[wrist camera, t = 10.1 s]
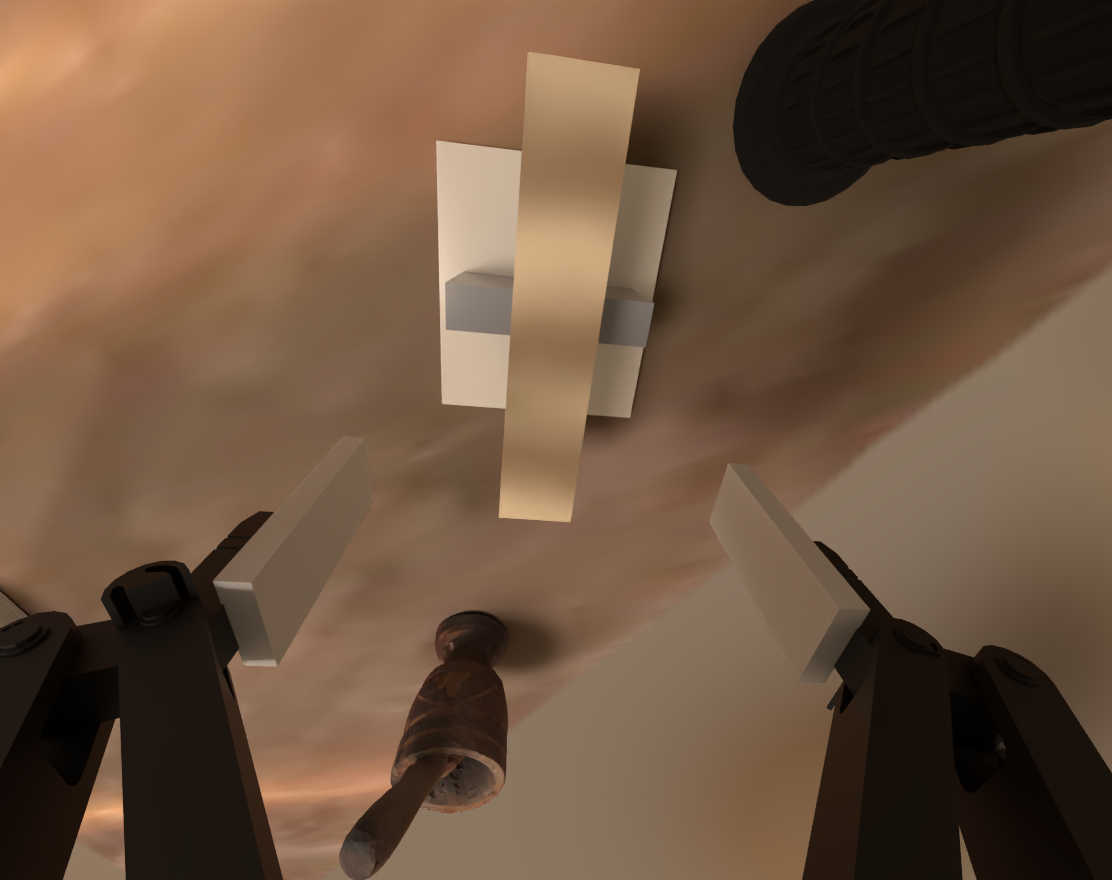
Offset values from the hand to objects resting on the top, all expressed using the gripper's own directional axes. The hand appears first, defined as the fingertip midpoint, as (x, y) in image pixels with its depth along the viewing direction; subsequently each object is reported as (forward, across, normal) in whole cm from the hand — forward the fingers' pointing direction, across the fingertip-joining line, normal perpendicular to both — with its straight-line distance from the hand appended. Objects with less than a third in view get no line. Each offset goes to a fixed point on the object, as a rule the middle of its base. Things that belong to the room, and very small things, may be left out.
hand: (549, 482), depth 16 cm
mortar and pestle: (+17, -6, -29) cm, 34 cm away
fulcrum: (+17, 0, +4) cm, 18 cm away
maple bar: (+10, 0, +4) cm, 11 cm away
